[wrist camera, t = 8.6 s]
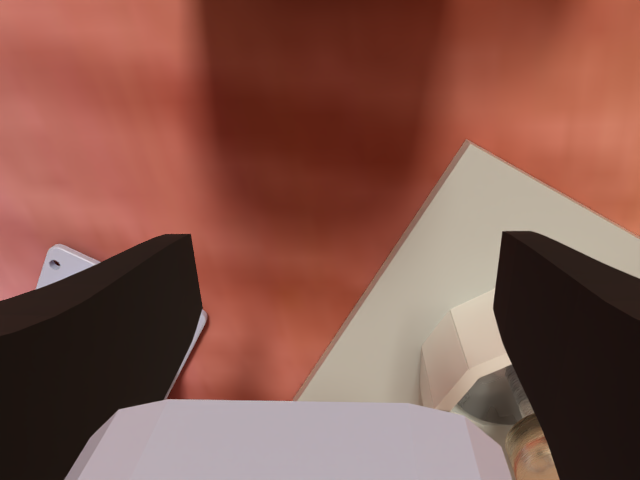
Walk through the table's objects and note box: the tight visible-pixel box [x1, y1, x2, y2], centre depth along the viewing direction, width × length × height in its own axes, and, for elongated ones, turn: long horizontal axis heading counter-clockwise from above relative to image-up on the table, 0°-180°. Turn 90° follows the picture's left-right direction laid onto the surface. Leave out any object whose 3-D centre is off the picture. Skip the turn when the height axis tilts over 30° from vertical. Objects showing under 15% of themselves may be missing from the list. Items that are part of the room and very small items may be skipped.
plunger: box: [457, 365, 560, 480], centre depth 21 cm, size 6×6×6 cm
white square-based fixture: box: [293, 139, 640, 480], centre depth 23 cm, size 16×16×5 cm
